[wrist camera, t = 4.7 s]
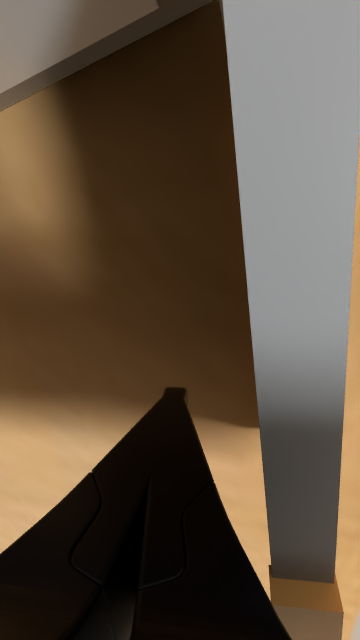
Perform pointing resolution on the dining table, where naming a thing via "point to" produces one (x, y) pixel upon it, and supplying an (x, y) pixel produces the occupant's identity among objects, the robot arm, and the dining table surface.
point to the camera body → (71, 37)
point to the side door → (298, 274)
